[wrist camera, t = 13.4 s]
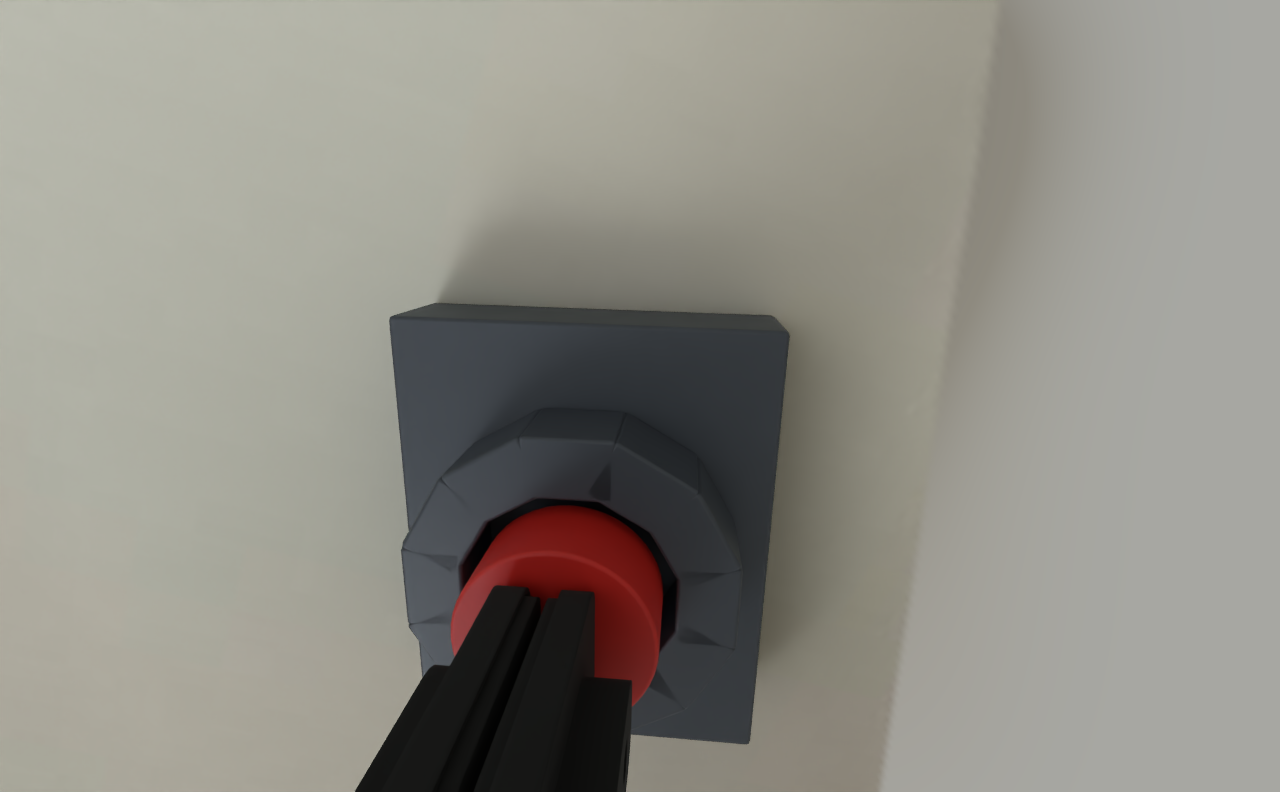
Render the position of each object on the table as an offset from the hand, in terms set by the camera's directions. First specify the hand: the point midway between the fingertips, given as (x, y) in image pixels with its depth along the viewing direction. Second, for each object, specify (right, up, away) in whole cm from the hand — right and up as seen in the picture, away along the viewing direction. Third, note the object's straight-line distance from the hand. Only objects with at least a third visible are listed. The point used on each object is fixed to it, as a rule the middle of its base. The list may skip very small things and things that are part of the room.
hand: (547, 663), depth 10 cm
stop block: (0, +2, +5) cm, 6 cm away
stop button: (0, +1, +2) cm, 2 cm away
